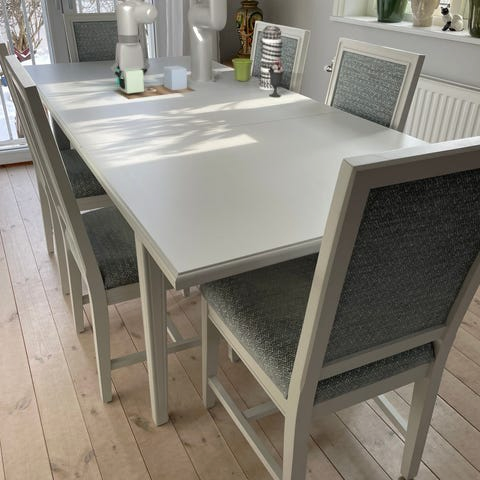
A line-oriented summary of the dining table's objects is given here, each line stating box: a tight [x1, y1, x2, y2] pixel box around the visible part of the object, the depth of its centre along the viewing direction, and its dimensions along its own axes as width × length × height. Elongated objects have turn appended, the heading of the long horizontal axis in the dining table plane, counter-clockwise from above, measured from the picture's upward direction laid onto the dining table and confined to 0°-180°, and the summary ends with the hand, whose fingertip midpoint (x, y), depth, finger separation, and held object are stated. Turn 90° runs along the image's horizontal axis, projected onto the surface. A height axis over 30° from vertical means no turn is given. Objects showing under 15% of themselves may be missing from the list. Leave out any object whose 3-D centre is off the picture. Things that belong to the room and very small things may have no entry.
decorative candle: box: [258, 25, 283, 91], centre depth 218 cm, size 9×9×25 cm
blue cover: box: [163, 65, 188, 90], centre depth 213 cm, size 7×7×8 cm
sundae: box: [268, 57, 285, 98], centre depth 209 cm, size 7×7×15 cm
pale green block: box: [119, 70, 145, 93], centre depth 201 cm, size 7×7×8 cm
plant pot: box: [231, 58, 254, 82], centre depth 234 cm, size 9×9×9 cm
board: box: [113, 84, 197, 100], centre depth 210 cm, size 30×15×2 cm, turn 124°
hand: (131, 86), depth 202 cm, fingers closed on pale green block, 6 cm apart
